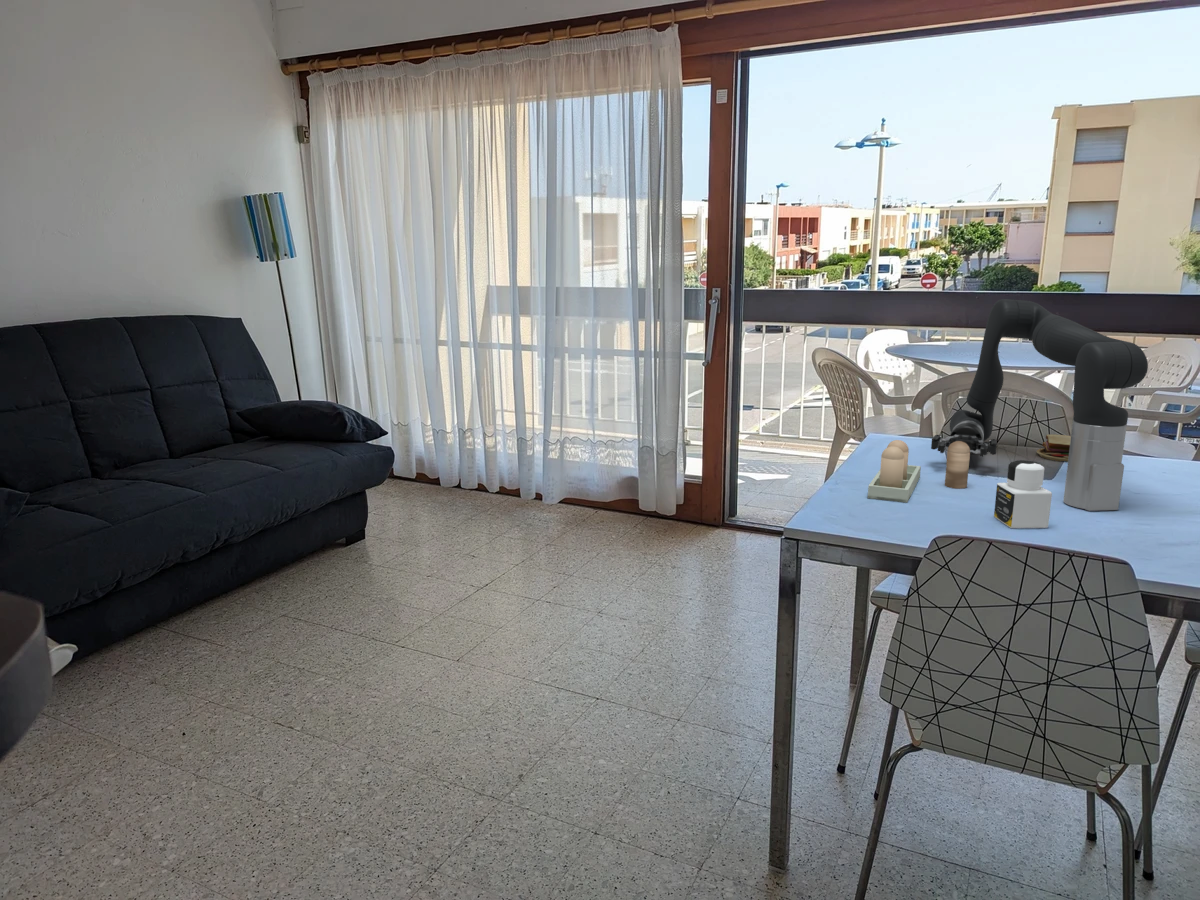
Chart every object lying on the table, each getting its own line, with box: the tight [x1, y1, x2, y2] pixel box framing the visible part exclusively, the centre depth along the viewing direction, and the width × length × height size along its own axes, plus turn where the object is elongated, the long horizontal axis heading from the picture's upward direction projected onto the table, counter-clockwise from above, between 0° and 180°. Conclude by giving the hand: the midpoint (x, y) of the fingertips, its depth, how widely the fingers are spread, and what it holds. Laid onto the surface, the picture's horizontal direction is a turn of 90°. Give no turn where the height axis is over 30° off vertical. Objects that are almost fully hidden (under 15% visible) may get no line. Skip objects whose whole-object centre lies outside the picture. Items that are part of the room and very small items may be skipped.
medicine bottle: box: [993, 459, 1053, 529], centre depth 151 cm, size 7×7×12 cm
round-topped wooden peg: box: [944, 441, 971, 490], centre depth 176 cm, size 5×5×10 cm
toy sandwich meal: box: [1036, 433, 1071, 462], centre depth 201 cm, size 12×14×5 cm
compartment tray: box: [867, 439, 922, 504], centre depth 176 cm, size 22×8×11 cm, turn 152°
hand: (961, 450), depth 185 cm, fingers open, 8 cm apart
